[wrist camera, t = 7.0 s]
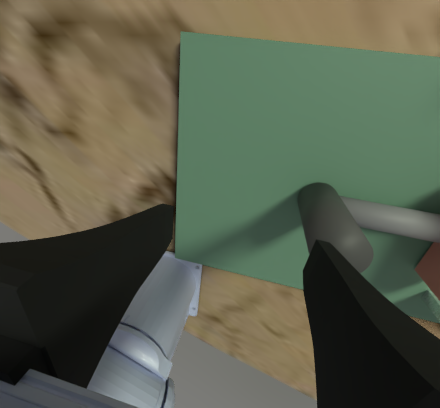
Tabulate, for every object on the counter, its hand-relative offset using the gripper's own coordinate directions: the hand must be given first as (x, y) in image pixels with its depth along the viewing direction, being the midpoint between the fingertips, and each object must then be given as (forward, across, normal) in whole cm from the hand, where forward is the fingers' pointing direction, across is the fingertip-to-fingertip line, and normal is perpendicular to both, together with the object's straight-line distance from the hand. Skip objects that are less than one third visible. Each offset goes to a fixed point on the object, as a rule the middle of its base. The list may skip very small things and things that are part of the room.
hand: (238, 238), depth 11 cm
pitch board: (+9, -11, 0) cm, 14 cm away
